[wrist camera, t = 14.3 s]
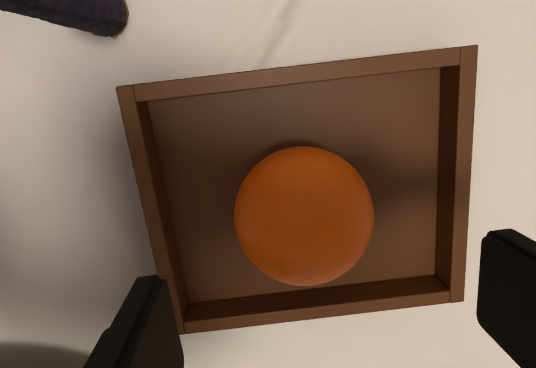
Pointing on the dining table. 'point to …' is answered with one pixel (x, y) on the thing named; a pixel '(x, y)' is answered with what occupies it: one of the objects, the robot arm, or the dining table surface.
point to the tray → (312, 135)
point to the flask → (75, 13)
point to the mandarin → (303, 216)
